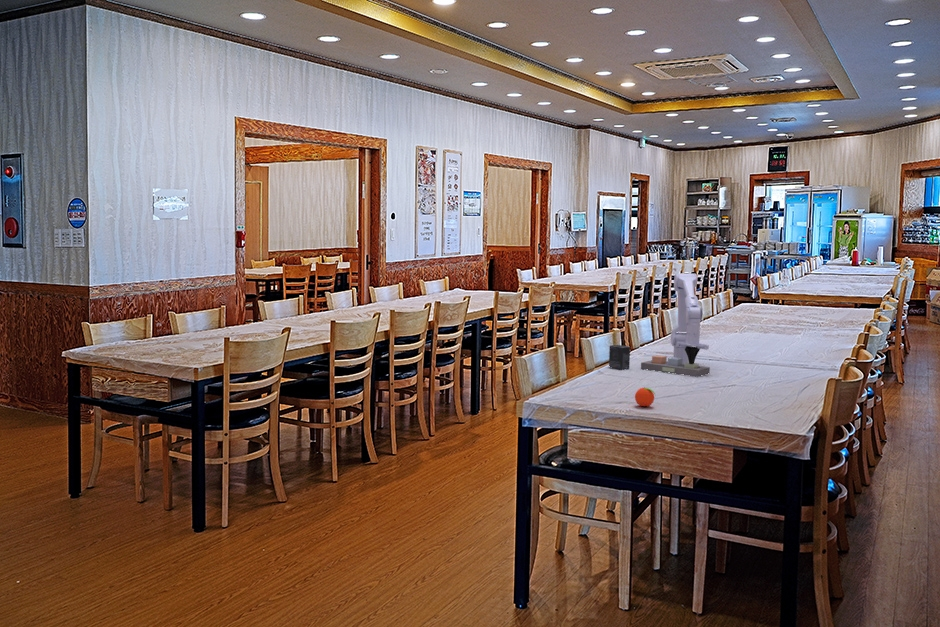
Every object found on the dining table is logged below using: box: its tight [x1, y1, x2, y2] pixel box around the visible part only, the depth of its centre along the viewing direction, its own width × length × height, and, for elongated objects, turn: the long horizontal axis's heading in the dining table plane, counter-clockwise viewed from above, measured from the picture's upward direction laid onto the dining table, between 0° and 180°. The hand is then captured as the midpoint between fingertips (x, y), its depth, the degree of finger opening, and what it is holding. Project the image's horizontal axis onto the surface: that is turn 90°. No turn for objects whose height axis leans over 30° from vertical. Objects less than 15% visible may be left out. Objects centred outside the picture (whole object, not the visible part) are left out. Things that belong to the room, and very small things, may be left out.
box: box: [608, 344, 631, 371], centre depth 382 cm, size 8×6×11 cm
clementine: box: [634, 386, 656, 407], centre depth 300 cm, size 8×7×7 cm
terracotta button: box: [651, 354, 668, 364], centre depth 382 cm, size 5×5×4 cm
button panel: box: [640, 359, 711, 377], centre depth 377 cm, size 12×28×3 cm, turn 49°
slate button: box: [667, 356, 683, 366], centre depth 377 cm, size 5×5×4 cm
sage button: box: [684, 362, 700, 369], centre depth 372 cm, size 5×5×4 cm
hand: (691, 363), depth 372 cm, fingers closed, pressing on sage button
